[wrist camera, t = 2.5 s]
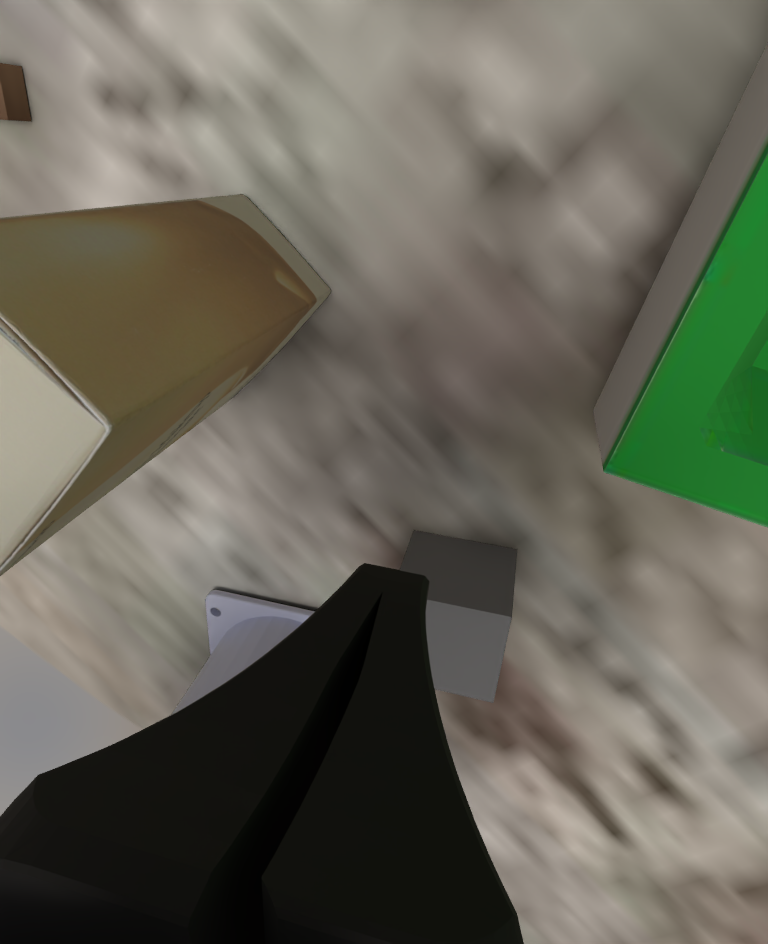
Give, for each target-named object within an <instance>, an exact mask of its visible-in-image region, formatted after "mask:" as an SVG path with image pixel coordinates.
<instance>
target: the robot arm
mask: <svg viewBox="0 0 768 944" xmlns="http://www.w3.org/2000/svg"><path fill="white" fill-rule="evenodd" d="M429 582H430V581H429V580H428V579H427V578H426V576H425V575H420V574H415V573H410V572H405V571H401V570H396V569H391V568H386V567H381V566H376V565H371V564H366V563H364V564H363V565H361V566H359V567H358V568H357V569H356V571H355V572H354V573H353V574H352V575H351V576H350V577H349V578H348V579H347V580H346V582H345V583H344V584H343V585H342V586H341V587H340V588H339V589H338V590H337V591H336V592H335V593H334V594H333V595H332V596H331V597H330V598H329V599H328V600H327V601H326V602H325V603H324V604H323V605H322V606H321V607H319V608H318V609H317V610H316V611H310V610H306V609H301V608H297V607H292V606H288V605H283V604H279V603H274V602H270V601H265V600H260V599H256V598H251V597H247V596H242V595H238V594H233V593H229V592H224V591H220V590H212V591H210V593H209V594H208V595H207V596H206V599H205V603H206V614H207V625H208V635H209V646H210V657H209V659H208V660H207V662H206V663H205V665H204V666H203V668H202V669H201V671H200V672H199V674H198V675H197V677H196V678H195V680H194V681H193V683H192V684H191V686H190V687H189V689H188V690H187V692H186V693H185V695H184V696H183V698H182V699H181V701H180V702H179V704H178V705H177V707H176V708H175V710H174V711H173V713H172V714H171V716H169V717H167V718H165V719H163V720H161V721H159V722H157V723H155V724H153V725H151V726H149V727H147V728H145V729H143V730H141V731H140V732H137V733H135V734H133V735H131V736H129V737H128V738H125V739H123V740H121V741H119V742H117V743H115V744H113V745H111V746H108V747H106V748H104V749H101V750H99V751H97V752H94V753H92V754H89V755H87V756H84V757H82V758H80V759H77V760H75V761H72V762H70V763H67V764H65V765H62V766H60V767H58V768H55V769H53V770H50V771H47V772H45V773H42V774H39V775H38V776H37V777H36V778H35V779H34V780H33V781H32V782H31V783H30V784H29V786H28V787H27V788H26V789H25V790H24V791H23V792H22V793H21V794H20V795H19V796H18V797H17V798H16V799H15V800H14V801H13V802H12V804H11V805H10V806H9V807H8V808H7V809H6V811H5V812H4V813H3V814H2V815H1V816H0V944H524V943H523V939H522V934H521V930H520V925H519V921H518V916H517V913H516V911H515V909H514V907H513V905H512V902H511V900H510V898H509V896H508V894H507V892H506V890H505V888H504V886H503V884H502V882H501V880H500V878H499V875H498V873H497V871H496V869H495V867H494V865H493V862H492V860H491V858H490V856H489V854H488V851H487V849H486V846H485V844H484V842H483V839H482V837H481V835H480V832H479V830H478V828H477V825H476V823H475V820H474V818H473V815H472V812H471V810H470V807H469V804H468V801H467V799H466V796H465V793H464V791H463V788H462V785H461V782H460V780H459V777H458V774H457V771H456V768H455V765H454V762H453V759H452V756H451V752H450V749H449V746H448V743H447V739H446V735H445V732H444V728H443V724H442V720H441V716H440V712H439V708H438V704H437V699H436V694H435V689H434V684H433V679H432V673H431V667H430V661H429V652H428V643H427V634H426V605H427V598H428V590H429ZM216 608H217V609H219V610H220V611H219V610H217V609H216Z"/></svg>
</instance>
